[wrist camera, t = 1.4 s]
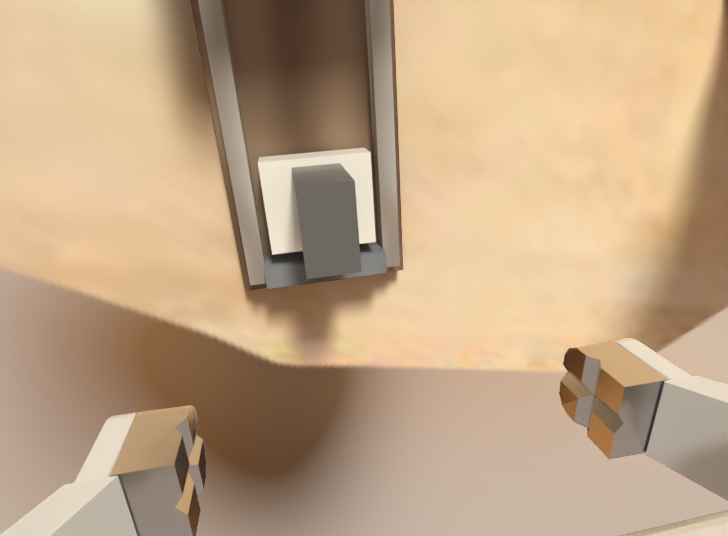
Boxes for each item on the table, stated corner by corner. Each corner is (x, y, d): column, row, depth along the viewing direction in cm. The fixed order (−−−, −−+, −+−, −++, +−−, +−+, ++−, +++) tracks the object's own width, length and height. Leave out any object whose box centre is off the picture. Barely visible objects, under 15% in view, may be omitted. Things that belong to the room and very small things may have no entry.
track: (382, -272, 24) (464, -563, 13) (401, 262, 36) (453, 334, 25) (141, -282, 22) (14, -625, 11) (246, 282, 34) (232, 368, 23)
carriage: (363, 147, 30) (392, 166, 22) (369, 231, 32) (397, 275, 24) (259, 157, 29) (252, 181, 21) (272, 243, 31) (270, 292, 24)
